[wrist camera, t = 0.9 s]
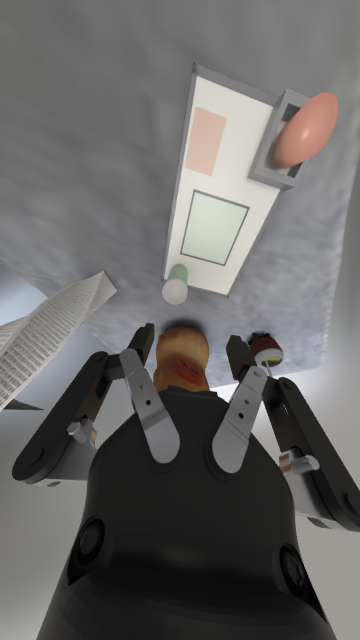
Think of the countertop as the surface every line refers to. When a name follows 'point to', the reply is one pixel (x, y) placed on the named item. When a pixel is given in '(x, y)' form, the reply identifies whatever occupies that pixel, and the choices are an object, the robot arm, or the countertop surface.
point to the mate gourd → (266, 351)
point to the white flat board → (226, 178)
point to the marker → (176, 285)
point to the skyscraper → (46, 332)
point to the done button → (306, 131)
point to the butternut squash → (181, 360)
